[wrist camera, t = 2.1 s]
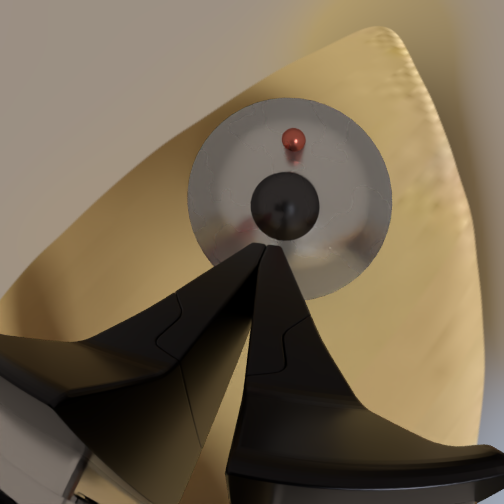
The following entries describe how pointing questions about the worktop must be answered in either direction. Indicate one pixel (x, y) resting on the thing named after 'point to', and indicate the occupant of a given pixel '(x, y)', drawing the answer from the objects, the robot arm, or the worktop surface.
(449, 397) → the worktop surface
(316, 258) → the cooker lid
